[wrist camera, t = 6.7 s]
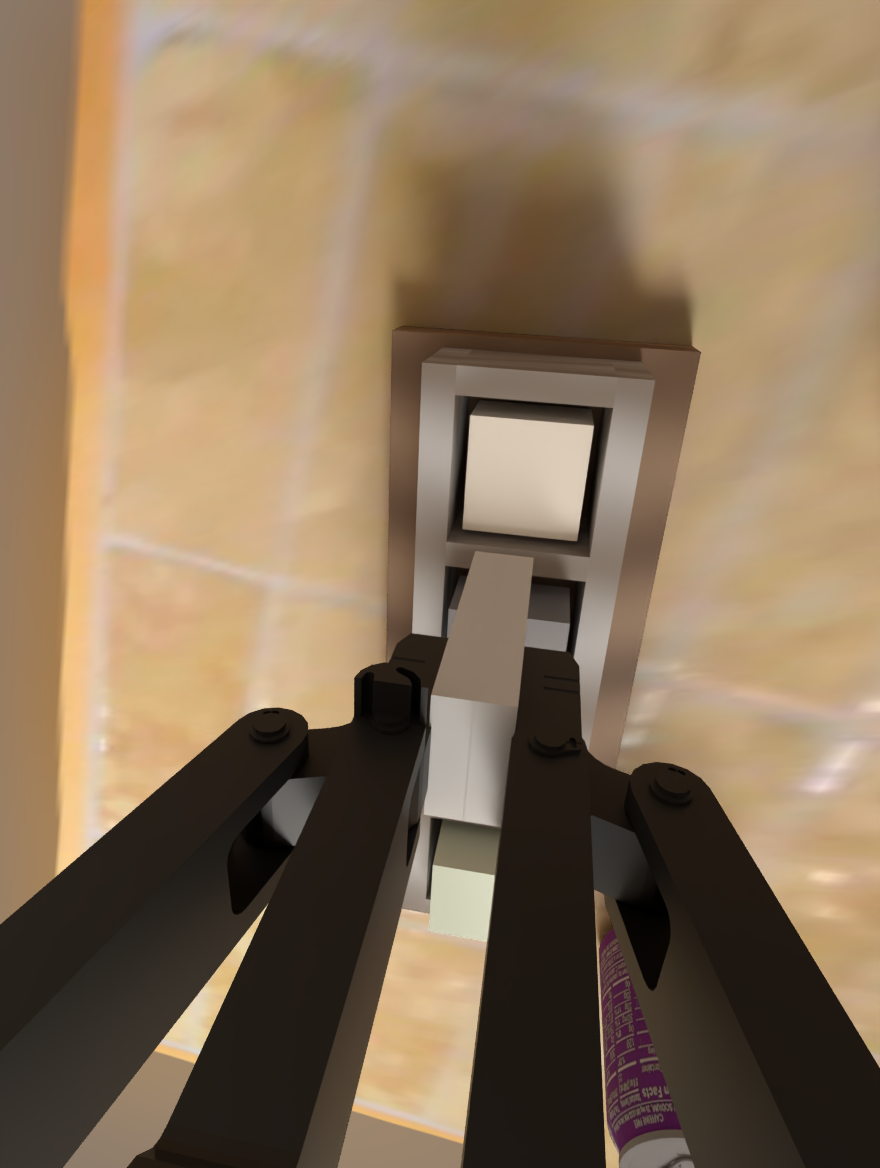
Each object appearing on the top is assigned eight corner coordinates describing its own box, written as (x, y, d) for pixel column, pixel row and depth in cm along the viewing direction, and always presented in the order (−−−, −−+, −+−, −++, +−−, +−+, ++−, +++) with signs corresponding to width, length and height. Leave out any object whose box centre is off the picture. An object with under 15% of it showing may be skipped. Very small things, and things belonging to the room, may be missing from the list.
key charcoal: (460, 575, 28) (448, 609, 25) (569, 588, 27) (569, 623, 25) (453, 667, 30) (442, 707, 27) (556, 680, 29) (554, 723, 27)
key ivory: (479, 399, 27) (470, 415, 25) (591, 409, 27) (593, 425, 24) (472, 504, 29) (462, 529, 27) (576, 515, 29) (576, 541, 26)
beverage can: (684, 998, 44) (722, 1235, 33) (580, 959, 44) (584, 1183, 33) (740, 931, 41) (801, 1170, 30) (627, 889, 41) (649, 1112, 30)
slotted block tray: (402, 325, 29) (362, 342, 24) (692, 346, 28) (725, 369, 22) (390, 817, 42) (362, 908, 36) (591, 850, 40) (595, 950, 34)
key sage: (443, 816, 34) (432, 864, 31) (534, 831, 33) (531, 881, 30) (439, 880, 35) (428, 931, 33) (524, 895, 35) (520, 948, 32)
